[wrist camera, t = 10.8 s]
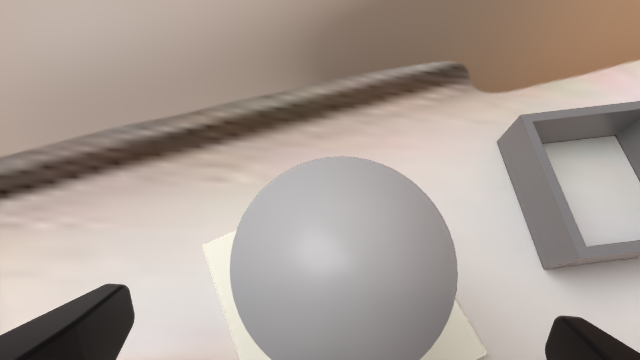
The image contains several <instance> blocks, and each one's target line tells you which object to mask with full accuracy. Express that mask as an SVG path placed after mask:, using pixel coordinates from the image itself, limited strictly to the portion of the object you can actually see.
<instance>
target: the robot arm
mask: <svg viewBox="0 0 640 360" xmlns="http://www.w3.org/2000/svg"><path fill="white" fill-rule="evenodd" d="M134 316H135V315H134V309H133V305H132V300H131V295H130V291H129V288H128V287H127V286H125V285H121V284H106V285H103V286H101V287H99V288H97V289H95V290H93V291H91V292H89V293H87V294H85V295H83V296H81V297H78V298H76V299H74V300H72V301H70V302H68V303H66V304H64V305H62V306H60V307H58V308H56V309H54V310H52V311H50V312H48V313H46V314H43V315H41V316H39V317H37V318H35V319H33V320H31V321H29V322H27V323H25V324H23V325H21V326H19V327H17V328H15V329H13V330H11V331H9V332H6V333H4V334H2V335H0V360H116V358H117V356H118V354H119V352H120V350H121V348H122V346H123V344H124V342H125V340H126V338H127V336H128V334H129V332H130V330H131V328H132V326H133V323H134ZM545 354H546V358H547V360H640V353H638V352H637V351H635V350H633V349H632V348H630V347H629V346H627V345H625V344H624V343H622V342H620V341H619V340H617V339H616V338H614V337H612V336H611V335H609V334H607V333H606V332H604V331H602V330H601V329H599V328H598V327H596V326H594V325H593V324H591V323H589V322H588V321H586V320H584V319H583V318H580V317H572V316H558V317H557V318H556V319H555V320H554V323H553V325H552V328H551V331H550V334H549V337H548V340H547V342H546V346H545Z"/></svg>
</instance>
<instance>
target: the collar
mask: <svg viewBox="0 0 640 360" xmlns="http://www.w3.org/2000/svg"><path fill="white" fill-rule="evenodd" d="M612 135H616V137H617V139H618V141H619V142H620V144H621V146H622V148H623V150H624V152H625V154H626V156H627V157H628V159H629V161H630V163H631V165H632V167H633V169H634V171H635V172H636V174H637V176H638V178H639V180H640V101H637V102H628V103H619V104H611V105H602V106H594V107H585V108H576V109H568V110H559V111H551V112H542V113H533V114H525V115H520V116H519V117H518V118H517V120H516V121H515V122H514V123H513V124H512V125H511V126H510V127H509V129H508V130H507V131H506V132H505V133H504V134H503V135H502V137H501V138H500V139H499V140H498V141H497V144H498V146H499V149H500V152H501V154H502V157H503V160H504V163H505V165H506V168H507V171H508V174H509V176H510V179H511V182H512V184H513V187H514V190H515V193H516V195H517V198H518V201H519V203H520V206H521V209H522V212H523V214H524V217H525V220H526V222H527V225H528V228H529V231H530V233H531V236H532V239H533V241H534V244H535V247H536V250H537V252H538V255H539V258H540V260H541V263H542V266H543V269H548V268H556V267H564V266H572V265H580V264H589V263H597V262H605V261H613V260H621V259H629V258H637V257H640V240H637V241H629V242H621V243H613V244H605V245H597V246H589V247H586V245H585V243H584V241H583V238H582V236H581V234H580V231H579V229H578V227H577V224H576V222H575V220H574V217H573V215H572V213H571V210H570V208H569V206H568V203H567V201H566V199H565V196H564V194H563V192H562V189H561V187H560V185H559V182H558V180H557V177H556V175H555V173H554V170H553V168H552V166H551V163H550V161H549V159H548V156H547V154H546V152H545V149H544V147H543V145H542V144H544V143H552V142H561V141H569V140H578V139H586V138H595V137H603V136H612Z"/></svg>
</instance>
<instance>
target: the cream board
mask: <svg viewBox="0 0 640 360" xmlns="http://www.w3.org/2000/svg"><path fill="white" fill-rule="evenodd" d="M236 231H237V230H235V231H233V232H231V233H228V234H226V235H224V236H222V237H219V238H217V239H215V240H213V241H210V242H208V243H206V244H204V245H202V248H203V251H204V254H205V257H206V260H207V264H208V267H209V270H210V273H211V276H212V279H213V282H214V285H215V288H216V291H217V294H218V297H219V300H220V303H221V306H222V309H223V312H224V315H225V318H226V322H227V325H228V328H229V331H230V334H231V337H232V340H233V343H234V346H235V349H236V352H237V355H238V358H239V360H271V359H270V358H269V357H268V356H267V355H266V354H265V353H264V352H263V351H262V350H261V349H260V348H259V347H258V346H257V344H256V343H255V342H254V340H253V339H252V338H251V336H250V335H249V333H248V332H247V330H246V328H245V326H244V324H243V322H242V320H241V318H240V316H239V314H238V311H237V308H236V305H235V302H234V299H233V294H232V289H231V282H230V256H231V250H232V245H233V240H234V237H235V234H236ZM486 354H488V353H487V351H486V349H485V348H484V346H483V344H482V343H481V341H480V339H479V338H478V336H477V334H476V333H475V331H474V329H473V328H472V326H471V324H470V323H469V321H468V319H467V318H466V316H465V314H464V312H463V311H462V309H461V307H460V306H459V304H458V302H457V301H456V299H455V300H454V305H453V308H452V311H451V314H450V317H449V320H448V322H447V324H446V326H445V328H444V329H443V331H442V333H441V335H440V337H439V338H438V339H437V341H436V342H435V343H434V345H433V346H432V348H431V349H430V350H429V351H428V352H427V353H426V354H425V355H424V356H423V357H422V358H421V359H420V360H478V359H479V358H481V357H483V356H485V355H486Z"/></svg>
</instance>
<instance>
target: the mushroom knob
mask: <svg viewBox="0 0 640 360" xmlns="http://www.w3.org/2000/svg"><path fill="white" fill-rule="evenodd" d="M457 277H458V273H457V259H456V254H455V248H454V244H453V241H452V238H451V235H450V232H449V229H448V227H447V225H446V223H445V221H444V219H443V217H442V215H441V214H440V212H439V210H438V209H437V207H436V206H435V204H434V203H433V202H432V201H431V199H430V198H429V197H428V196H427V195H426V194H425V193H424V192H423V191H422V190H421V189H420V188H419V187H418V186H417V185H416V184H415V183H414V182H412V181H411V180H410V179H408V178H407V177H406V176H404V175H402V174H401V173H399V172H397V171H396V170H394V169H392V168H390V167H387V166H385V165H383V164H380V163H377V162H374V161H371V160H367V159H362V158H356V157H343V156H341V157H327V158H321V159H315V160H312V161H309V162H305V163H302V164H300V165H298V166H295V167H293V168H291V169H289V170H287V171H286V172H284V173H282V174H280V175H279V176H278V177H276V178H275V179H274V180H272V181H271V182H270V183H269V184H268V185H266V186H265V187H264V188H263V189H262V190H261V191H260V192H259V193H258V195H257V196H256V197H255V198H254V200H253V201H252V202H251V203H250V205H249V207H248V208H247V210H246V211H245V213H244V215H243V217H242V219H241V221H240V223H239V225H238V228H237V231H236V234H235V237H234V240H233V245H232V250H231V256H230V282H231V289H232V294H233V299H234V302H235V305H236V308H237V311H238V314H239V316H240V318H241V320H242V322H243V324H244V326H245V328H246V330H247V332H248V333H249V335H250V336H251V338H252V339H253V340H254V342H255V343H256V344H257V346H258V347H259V348H260V349H261V350H262V351H263V352H264V353H265V354H266V355H267V356H268V357H269V358H270V359H271V360H420V359H421V358H422V357H423V356H424V355H425V354H426V353H427V352H428V351H429V350H430V349H431V348H432V346H433V345H434V343H435V342H436V341H437V339H438V338H439V337H440V335H441V333H442V331H443V329H444V328H445V326H446V324H447V322H448V320H449V317H450V314H451V311H452V308H453V305H454V300H455V295H456V291H457Z"/></svg>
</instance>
